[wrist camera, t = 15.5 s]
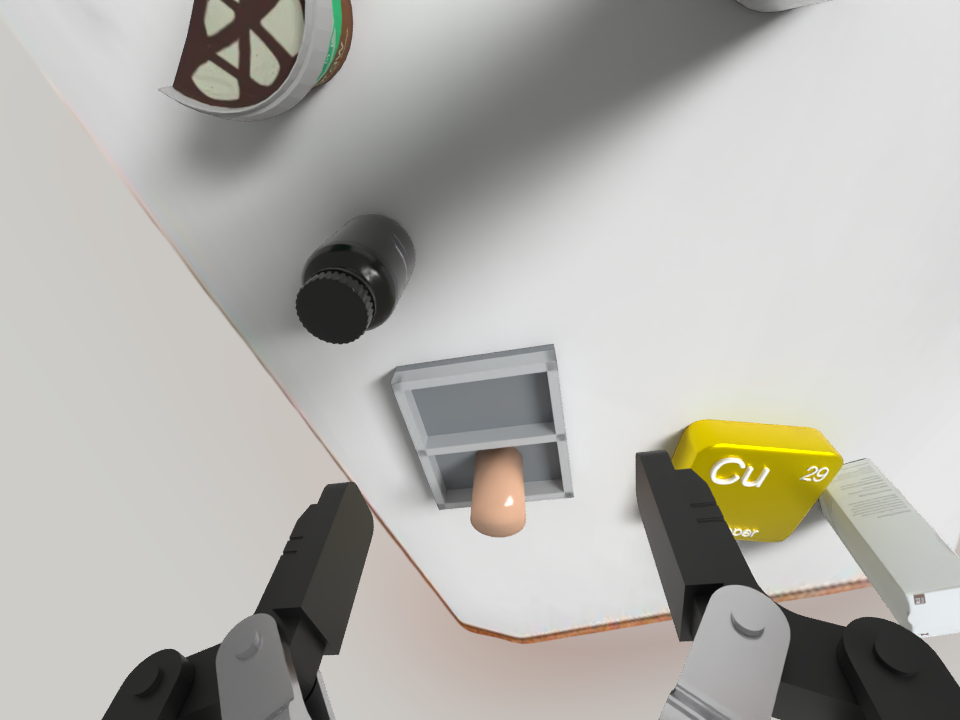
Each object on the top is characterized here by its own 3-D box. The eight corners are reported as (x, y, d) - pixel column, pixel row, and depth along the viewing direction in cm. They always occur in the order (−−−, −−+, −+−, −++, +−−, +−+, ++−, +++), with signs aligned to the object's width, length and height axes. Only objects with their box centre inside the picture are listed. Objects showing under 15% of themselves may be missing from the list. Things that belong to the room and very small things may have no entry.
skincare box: (873, 498, 52) (988, 631, 40) (817, 512, 54) (911, 644, 42) (868, 453, 48) (993, 585, 36) (808, 470, 50) (908, 601, 38)
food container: (323, 148, 34) (263, 173, 25) (246, 92, 32) (155, 99, 23) (405, -21, 28) (364, -61, 20) (318, -101, 26) (231, -183, 18)
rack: (553, 344, 42) (556, 360, 40) (570, 476, 52) (573, 497, 50) (396, 366, 45) (390, 384, 42) (441, 489, 55) (438, 509, 52)
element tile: (649, 504, 55) (660, 538, 51) (688, 415, 47) (705, 447, 43) (767, 514, 55) (787, 549, 51) (827, 426, 47) (857, 459, 43)
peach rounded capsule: (519, 440, 48) (521, 499, 42) (526, 475, 51) (529, 535, 44) (470, 446, 49) (465, 504, 42) (480, 479, 52) (476, 539, 45)
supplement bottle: (432, 251, 38) (407, 315, 28) (385, 301, 41) (346, 376, 31) (369, 193, 35) (315, 241, 25) (323, 250, 38) (259, 314, 28)
